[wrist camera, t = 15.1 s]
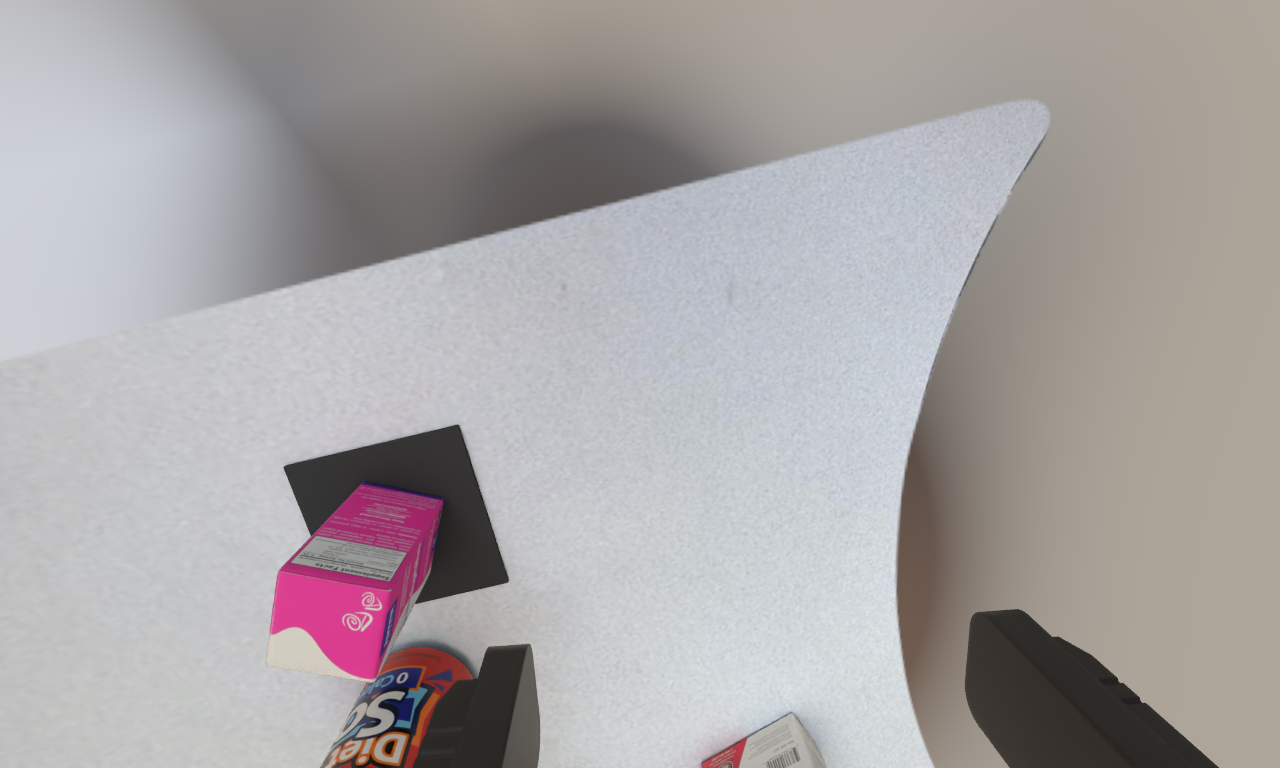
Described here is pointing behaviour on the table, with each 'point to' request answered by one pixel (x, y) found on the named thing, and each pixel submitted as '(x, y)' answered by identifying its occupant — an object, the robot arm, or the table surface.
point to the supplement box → (354, 584)
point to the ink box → (772, 749)
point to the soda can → (395, 710)
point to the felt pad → (422, 468)
